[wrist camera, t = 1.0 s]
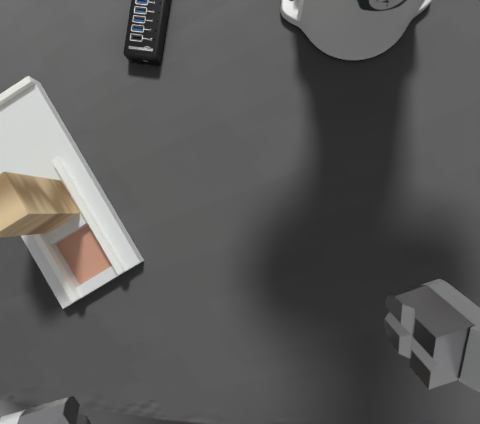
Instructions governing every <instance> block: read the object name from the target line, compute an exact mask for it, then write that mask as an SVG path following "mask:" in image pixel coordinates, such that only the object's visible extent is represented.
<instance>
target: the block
mask: <svg viewBox="0 0 480 424" xmlns="http://www.w3.org/2000/svg"><path fill="white" fill-rule="evenodd" d="M78 214H80V212H79V210H78V208H77V207H76V205H75V203H74V201H73V200H72V198H71V196H70V195H69V193H68V191H67V189H66V188H65V186H64V184H63V183H62V181H61V180H55V179H49V178H42V177H36V176H30V175H23V174H17V173H11V172H2V173H1V174H0V238H3V237H13V236H23V235H33V234H43V233H49V232H51V231H52V230H54V229H56V228H57V227H59V226H61V225H62V224H64V223H65V222H67V221H69V220H70V219H72V218H74V217H75V216H77V215H78Z"/></svg>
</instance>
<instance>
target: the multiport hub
mask: <svg viewBox="0 0 480 424" xmlns="http://www.w3.org/2000/svg"><path fill="white" fill-rule="evenodd" d="M170 3H171V0H132V1H131V7H130V14H129V21H128V27H127V34H126V40H125V47H124V55H125V56H126V58H127V59H128V60H129V61H130V62H131V63H137V64H145V65H152V66H160V65H161V62H162V56H163V49H164V43H165V36H166V29H167V23H168V16H169V10H170Z"/></svg>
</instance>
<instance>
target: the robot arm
mask: <svg viewBox="0 0 480 424" xmlns="http://www.w3.org/2000/svg"><path fill="white" fill-rule="evenodd" d="M431 1H432V0H294V1H289V0H282V1H281V8H280V12H281V15H282V17H283V18H284V19H286V20H287V21H288V22H290V23H292V24H294V25H296V26H297V27H299V28H300V29H301V30H302V31H303V32H304V33H305V35H306V36H307V37H308V38H309V40H310V41H311V42H312V43H313V44H314V45H315V46H316V47H317V48H318V49H320V50H321V51H323V52H324V53H326V54H328V55H330V56H333V57H336V58H339V59H344V60H363V59H368V58H371V57H374V56H377V55H379V54H381V53H383V52H385V51H386V50H388V49H389V48H390V47H392V46H393V45H394V44H395V43H396V42H397V41H398V40H399V39H400V37H401V36H402V35H403V33H404V32H405V30H406V28H407V26H408V25H409V23H410V22H411V20H412V19H413V18H414V17H415V16H417V15H418V14H420V13H421V12H422V11H423V10H425V9H426V8H427V7H428V5H429V4H430V2H431ZM385 307H386V308H387V309H388V310H389V311H390V312H389V313H388V315H387V316H386V317H385V331H386V334H387V337H388V339H389V341H390V343H391V344H392V346H393V347H394V349H395V350H396V351H397V352H398V354H401V355H403V356H405V357H407V358H409V359H410V368H411V369H412V371H413V372H414V373H415V374H416V375H417V377H418V378H419V379H420V380H421V381H422V383H423V384H424V385H425V386H426V387H427V389H428V390H429V389H432V388H435V387H438V386H441V385H444V384H447V383H450V382H453V381H456V380H459V379H460V380H459V382H461V383H463V384H465V385H467V386H468V387H470V388H472V389H474V390H475V391H477V392H479V393H480V308H479V307H478V306H477V305H476V304H474V303H473V302H472V301H470V300H469V299H468V298H467V297H465V296H464V295H463V294H461V293H460V292H459V291H458V290H456V289H455V288H454V287H452V286H451V285H450V284H448V283H447V282H446V281H444V280H441V279H437V280H434V281H431V282H428V283H425V284H422V285H418V286H415V287H412V288H409V289H405V290H402V291H399V292H396V293H393V294H390V295H388V296H387V298H386V301H385ZM79 406H80V404H79V403H78V402H77V400H76V399H75V397H74V396H72V397H67V398H64V399H60V400H57V401H53V402H50V403H46V404H43V405H40V406H36V407H33V408H29V409H26V410H23V411H20V412H16V413H13V414H10V415H6V416H3V417H2V418H1V419H0V424H91V423H90V421H89V419H88V417H87V416H85V415H82V414H79V413H78V412H79Z"/></svg>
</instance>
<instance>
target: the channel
mask: <svg viewBox="0 0 480 424" xmlns="http://www.w3.org/2000/svg"><path fill="white" fill-rule="evenodd" d="M2 172H11V173H17V174H23V175H30V176H36V177H42V178H49V179H55V180H61V181H62V183H63V184H64V186H65V188H66V189H67V191H68V193H69V195H70V196H71V198H72V200H73V201H74V203H75V205H76V207H77V208H78V210H79V212H80V214H78V215H77V216H75V217H74V218H72V219H70V220H69V221H67V222H65V223H64V224H62V225H61V226H59V227H57V228H56V229H54V230H52V231H51V232H49V233H43V234H33V235H23V236H21V237H22V239H23V241H24V242H25V244H26V246H27V248H28V249H29V251H30V253H31V254H32V256H33V258H34V260H35V261H36V263H37V265H38V267H39V268H40V270H41V272H42V274H43V275H44V277H45V279H46V281H47V282H48V284H49V286H50V288H51V289H52V291H53V293H54V295H55V296H56V298H57V300H58V301H59V303H60V305H61V307H62V308H63V309H64V308H66V307H68V306H70V305H71V304H73V303H75V302H76V301H78V300H80V299H81V298H83V297H85V296H86V295H88V294H89V293H91V292H93V291H94V290H96V289H98V288H99V287H101V286H103V285H104V284H106V283H108V282H109V281H111V280H113V279H114V278H116V277H118V276H119V275H121V274H123V273H124V272H126V271H128V270H129V269H131V268H133V267H134V266H136V265H138V264H139V263H141V262H143V261H144V260H143V258H142V256H141V255H140V253H139V251H138V250H137V248H136V246H135V244H134V243H133V241H132V239H131V238H130V236H129V234H128V232H127V231H126V229H125V227H124V226H123V224H122V222H121V220H120V219H119V217H118V215H117V214H116V212H115V210H114V209H113V207H112V205H111V203H110V202H109V200H108V198H107V197H106V195H105V193H104V191H103V190H102V188H101V186H100V185H99V183H98V181H97V179H96V178H95V176H94V174H93V173H92V171H91V169H90V168H89V166H88V164H87V162H86V161H85V159H84V157H83V156H82V154H81V152H80V150H79V149H78V147H77V145H76V144H75V142H74V140H73V138H72V137H71V135H70V133H69V132H68V130H67V128H66V127H65V125H64V123H63V121H62V120H61V118H60V116H59V115H58V113H57V111H56V109H55V108H54V106H53V104H52V103H51V101H50V99H49V97H48V96H47V94H46V92H45V91H44V89H43V87H42V85H41V84H40V82H38V81H36V80H34V79H33V78H31V77H29V76H27V77H26V78H24V79H23V80H21V81H20V82H18V83H17V84H15V85H14V86H12V87H10V88H9V89H7V90H6V91H4V92H3V93H1V94H0V174H1V173H2Z"/></svg>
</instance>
